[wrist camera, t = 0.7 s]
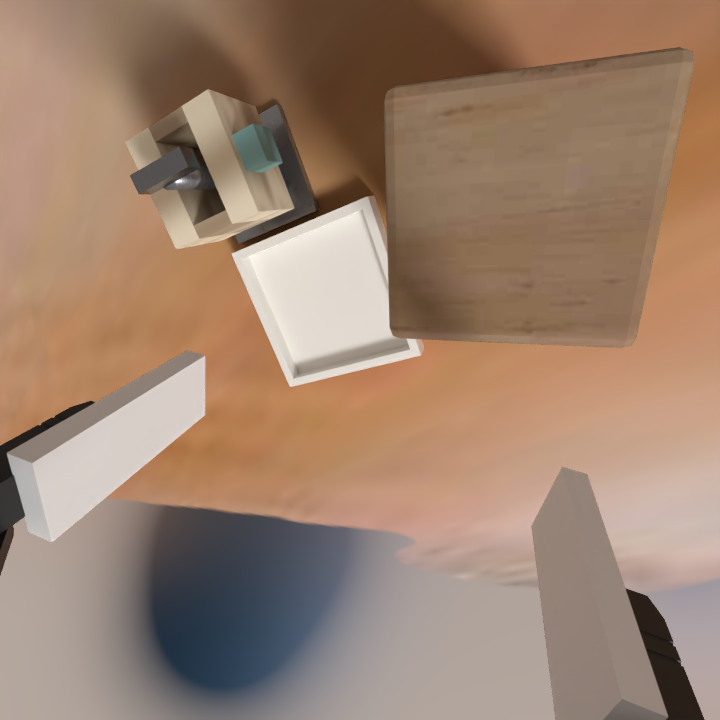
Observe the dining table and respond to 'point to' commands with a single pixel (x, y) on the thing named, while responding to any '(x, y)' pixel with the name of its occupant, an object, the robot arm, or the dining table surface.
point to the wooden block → (531, 199)
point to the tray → (326, 294)
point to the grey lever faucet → (188, 174)
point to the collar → (216, 169)
